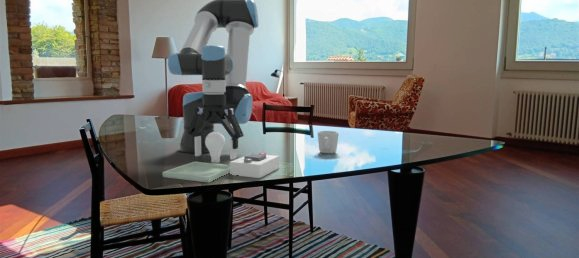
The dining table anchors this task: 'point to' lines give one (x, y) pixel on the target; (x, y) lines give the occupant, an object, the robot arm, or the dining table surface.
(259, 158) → the button
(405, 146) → the dining table surface
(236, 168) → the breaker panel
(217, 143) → the light bulb
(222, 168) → the tray
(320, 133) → the cup
